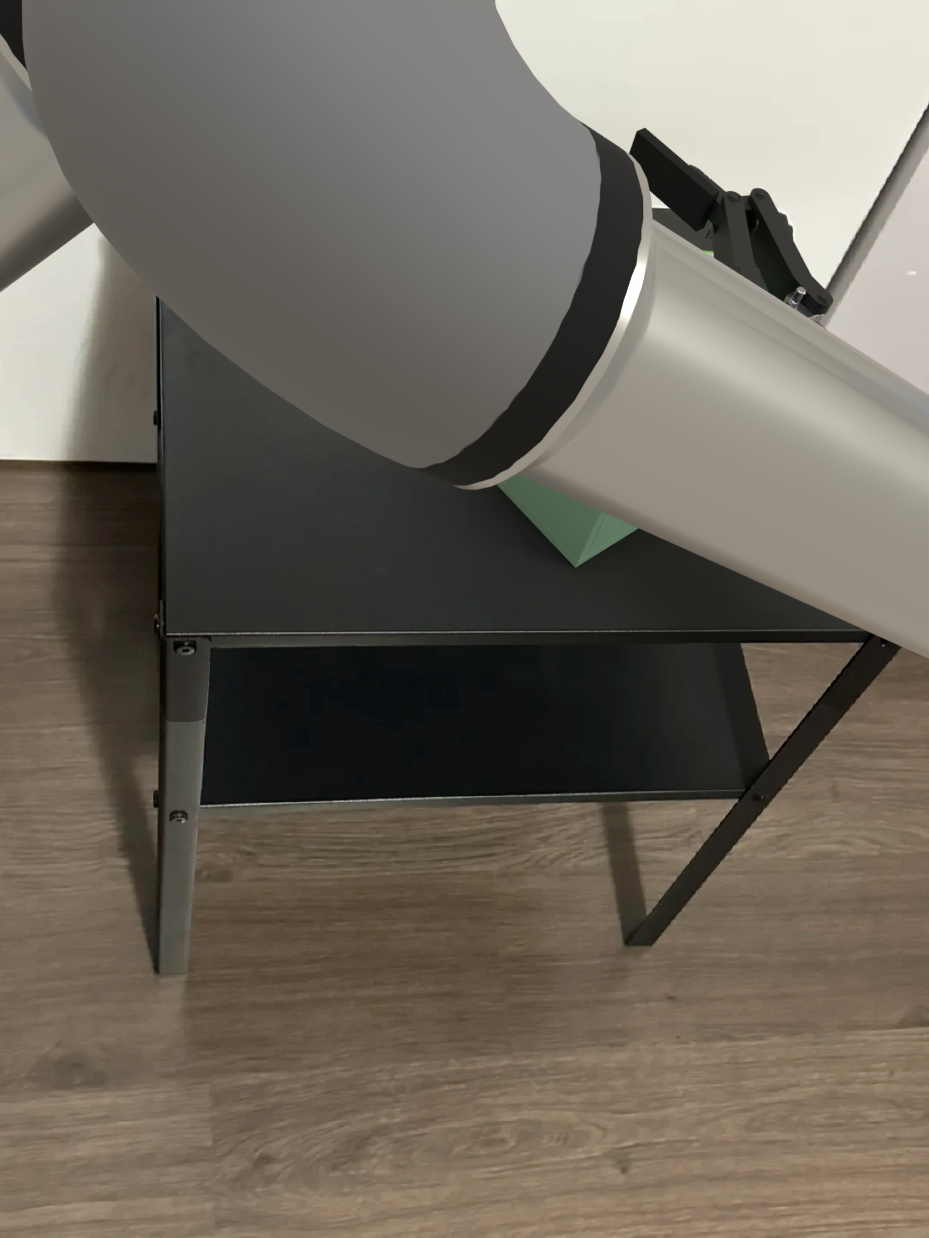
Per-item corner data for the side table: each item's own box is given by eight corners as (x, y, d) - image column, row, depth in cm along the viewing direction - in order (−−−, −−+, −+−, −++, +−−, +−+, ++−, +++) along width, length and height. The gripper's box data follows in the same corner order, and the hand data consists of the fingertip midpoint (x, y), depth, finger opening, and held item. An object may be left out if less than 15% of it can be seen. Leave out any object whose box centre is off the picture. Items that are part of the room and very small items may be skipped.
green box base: (678, 503, 86) (710, 444, 81) (575, 568, 82) (601, 510, 76) (560, 385, 90) (582, 322, 85) (454, 441, 86) (471, 377, 80)
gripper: (633, 562, 64) (380, 303, 71) (917, 378, 75) (676, 171, 82) (681, 470, 58) (398, 195, 64) (982, 285, 69) (716, 69, 76)
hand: (554, 181), depth 73 cm, fingers open, 13 cm apart
